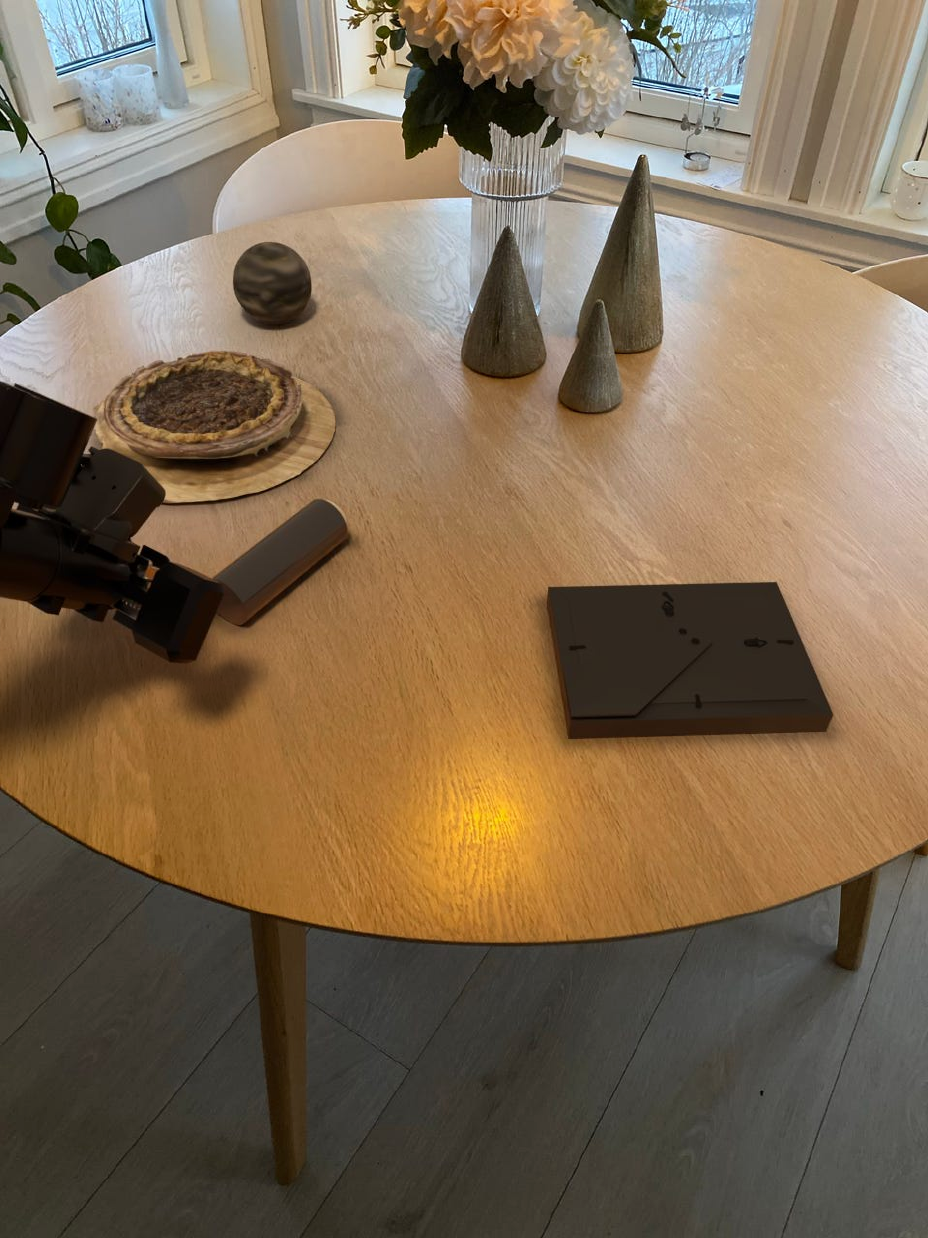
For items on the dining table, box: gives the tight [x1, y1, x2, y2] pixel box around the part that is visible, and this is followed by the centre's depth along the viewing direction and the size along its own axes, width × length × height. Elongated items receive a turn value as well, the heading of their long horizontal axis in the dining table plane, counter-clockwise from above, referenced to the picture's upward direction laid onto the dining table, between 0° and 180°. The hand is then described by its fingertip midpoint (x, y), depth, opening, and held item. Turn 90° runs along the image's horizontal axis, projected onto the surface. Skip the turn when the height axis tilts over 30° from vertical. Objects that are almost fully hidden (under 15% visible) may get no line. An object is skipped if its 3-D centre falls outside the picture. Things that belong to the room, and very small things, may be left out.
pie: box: [92, 350, 336, 504], centre depth 105 cm, size 28×27×5 cm
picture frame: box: [546, 581, 834, 740], centre depth 81 cm, size 16×3×21 cm
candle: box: [211, 498, 349, 626], centre depth 88 cm, size 5×5×15 cm
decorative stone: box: [232, 241, 313, 325], centre depth 123 cm, size 10×10×10 cm
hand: (181, 591), depth 77 cm, fingers closed
